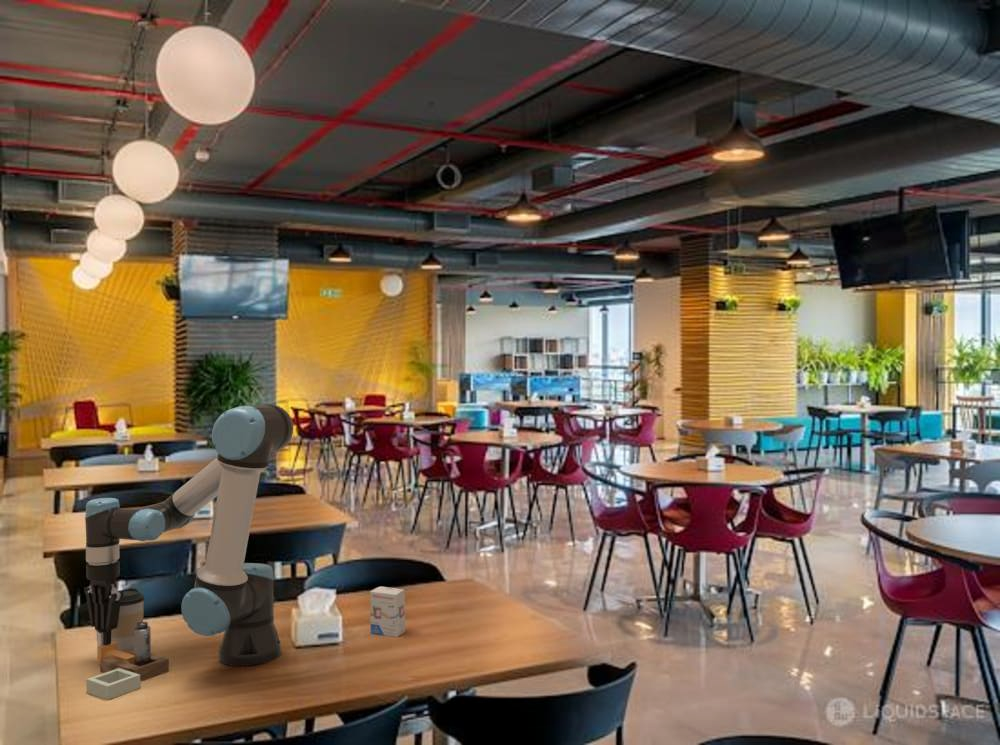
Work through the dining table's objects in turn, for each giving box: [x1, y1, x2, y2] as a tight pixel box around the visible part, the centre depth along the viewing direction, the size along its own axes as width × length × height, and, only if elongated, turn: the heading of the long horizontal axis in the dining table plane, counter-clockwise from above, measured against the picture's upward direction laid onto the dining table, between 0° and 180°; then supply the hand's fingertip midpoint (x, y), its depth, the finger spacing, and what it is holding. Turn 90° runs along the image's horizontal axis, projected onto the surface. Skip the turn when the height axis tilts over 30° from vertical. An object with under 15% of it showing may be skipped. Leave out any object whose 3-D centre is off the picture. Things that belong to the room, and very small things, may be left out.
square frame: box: [85, 668, 141, 701], centre depth 190 cm, size 8×8×3 cm
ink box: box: [369, 586, 406, 638], centre depth 229 cm, size 9×5×12 cm, turn 68°
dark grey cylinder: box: [134, 621, 152, 666], centre depth 199 cm, size 4×4×12 cm
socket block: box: [99, 649, 170, 682], centre depth 201 cm, size 14×9×3 cm, turn 58°
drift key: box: [96, 642, 135, 666], centre depth 204 cm, size 10×4×4 cm, turn 58°
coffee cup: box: [111, 587, 145, 652], centre depth 217 cm, size 9×9×15 cm
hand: (104, 656), depth 208 cm, fingers closed
